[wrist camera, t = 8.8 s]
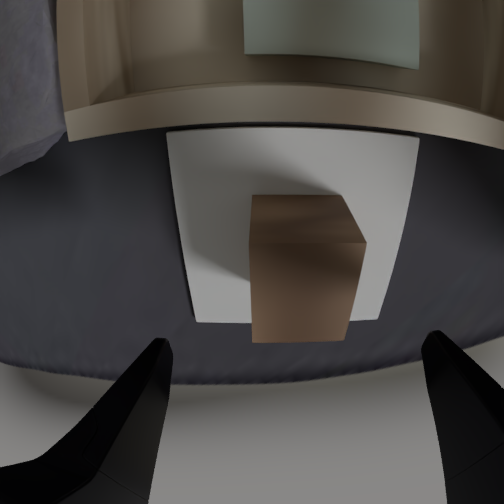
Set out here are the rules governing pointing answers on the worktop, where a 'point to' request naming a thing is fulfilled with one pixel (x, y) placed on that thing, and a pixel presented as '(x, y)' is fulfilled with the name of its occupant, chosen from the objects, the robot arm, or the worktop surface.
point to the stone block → (29, 82)
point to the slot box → (283, 64)
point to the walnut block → (303, 267)
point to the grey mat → (283, 183)
